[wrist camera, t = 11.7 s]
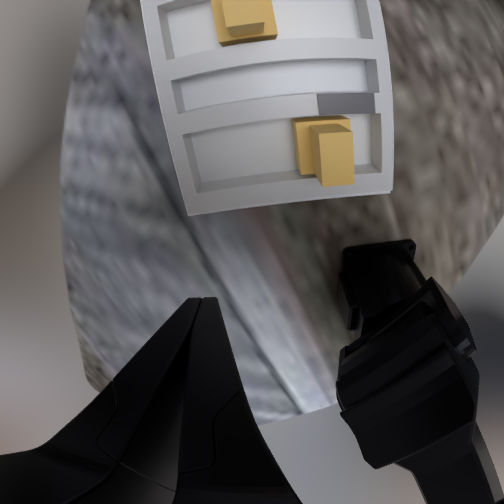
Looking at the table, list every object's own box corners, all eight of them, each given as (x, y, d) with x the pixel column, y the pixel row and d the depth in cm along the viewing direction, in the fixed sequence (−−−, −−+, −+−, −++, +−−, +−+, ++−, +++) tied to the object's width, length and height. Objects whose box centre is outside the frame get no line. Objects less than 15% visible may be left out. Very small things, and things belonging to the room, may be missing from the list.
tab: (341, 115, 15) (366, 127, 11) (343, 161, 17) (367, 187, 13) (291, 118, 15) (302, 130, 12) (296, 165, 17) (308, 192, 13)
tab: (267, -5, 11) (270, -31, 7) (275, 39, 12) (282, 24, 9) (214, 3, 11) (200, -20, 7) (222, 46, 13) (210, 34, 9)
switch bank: (362, -27, 10) (379, -42, 7) (383, 186, 19) (402, 205, 16) (145, -3, 11) (126, -15, 9) (191, 209, 20) (181, 230, 17)
